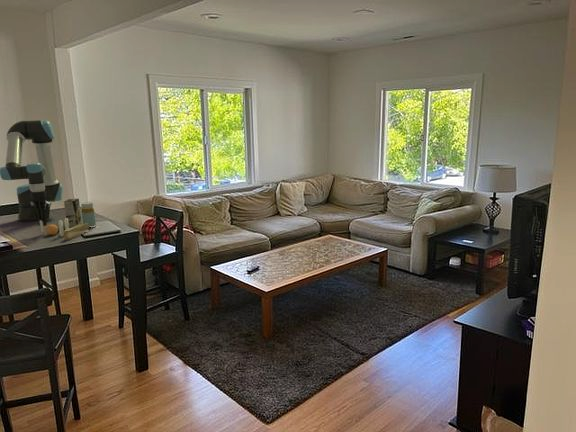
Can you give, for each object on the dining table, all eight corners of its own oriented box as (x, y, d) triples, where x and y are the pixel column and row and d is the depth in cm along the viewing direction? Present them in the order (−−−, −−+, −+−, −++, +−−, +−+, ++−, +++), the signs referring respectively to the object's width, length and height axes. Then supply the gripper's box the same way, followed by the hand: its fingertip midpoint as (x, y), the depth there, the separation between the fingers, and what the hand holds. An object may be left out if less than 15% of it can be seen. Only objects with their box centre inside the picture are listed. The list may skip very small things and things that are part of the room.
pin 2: (65, 234, 250) (63, 219, 248) (67, 233, 252) (65, 218, 250) (68, 234, 250) (66, 219, 248) (70, 233, 252) (68, 218, 250)
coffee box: (78, 226, 267) (74, 200, 264) (66, 227, 266) (63, 201, 263) (82, 223, 276) (79, 198, 273) (71, 223, 275) (68, 198, 272)
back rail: (64, 239, 239) (63, 230, 238) (84, 231, 256) (83, 222, 255) (69, 239, 239) (68, 231, 237) (89, 231, 256) (88, 223, 255)
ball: (52, 224, 246) (52, 235, 246) (60, 224, 252) (60, 234, 252) (43, 224, 247) (43, 235, 247) (51, 224, 253) (51, 234, 253)
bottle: (91, 228, 261) (88, 204, 258) (81, 228, 263) (78, 204, 259) (98, 225, 268) (95, 202, 265) (88, 225, 269) (85, 201, 266)
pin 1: (59, 236, 246) (57, 221, 243) (61, 235, 247) (59, 220, 245) (62, 236, 245) (60, 221, 243) (65, 235, 247) (62, 220, 245)
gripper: (22, 191, 243) (29, 232, 248) (43, 192, 240) (49, 233, 246) (32, 189, 250) (38, 229, 255) (52, 189, 248) (58, 229, 253)
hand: (43, 231), depth 250 cm, fingers closed
